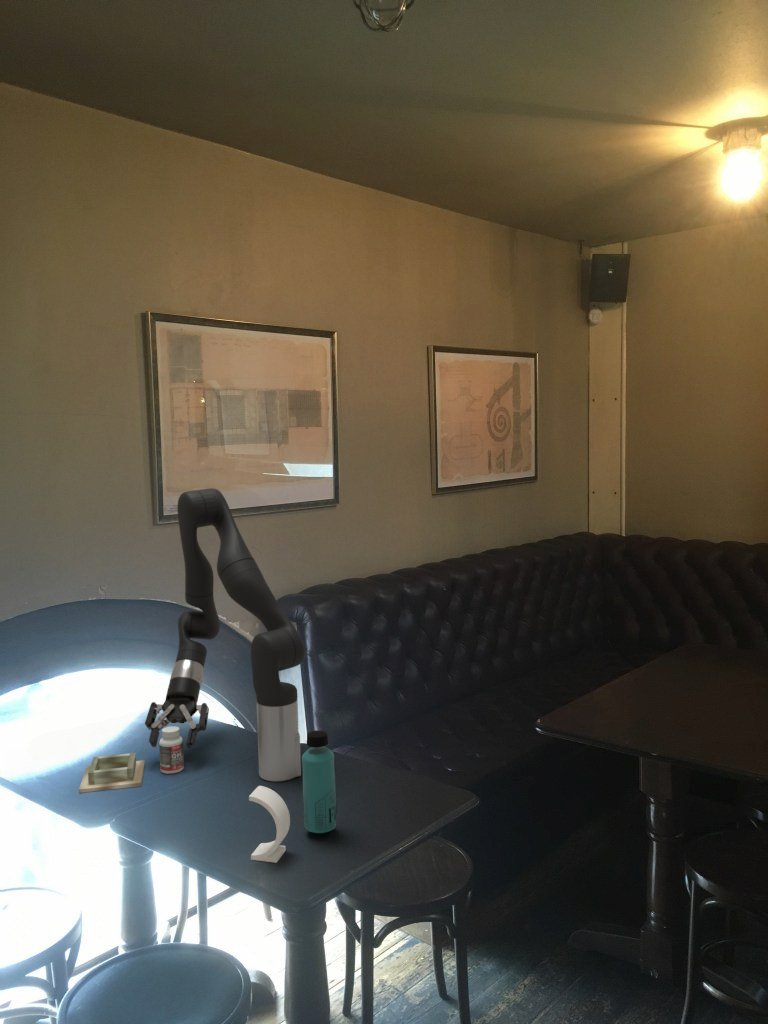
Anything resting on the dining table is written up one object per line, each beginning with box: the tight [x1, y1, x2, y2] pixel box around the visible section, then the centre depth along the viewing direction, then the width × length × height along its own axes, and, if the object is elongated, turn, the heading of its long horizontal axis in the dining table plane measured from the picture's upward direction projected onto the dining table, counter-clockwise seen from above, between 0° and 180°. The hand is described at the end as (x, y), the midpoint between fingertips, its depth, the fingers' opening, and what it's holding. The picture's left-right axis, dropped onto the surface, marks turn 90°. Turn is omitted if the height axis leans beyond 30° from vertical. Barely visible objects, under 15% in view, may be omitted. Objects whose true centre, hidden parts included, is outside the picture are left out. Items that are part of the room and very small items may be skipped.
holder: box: [78, 752, 146, 794], centre depth 184 cm, size 13×13×4 cm
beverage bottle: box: [301, 730, 338, 834], centre depth 156 cm, size 6×7×20 cm
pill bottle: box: [158, 725, 185, 775], centre depth 188 cm, size 5×5×10 cm
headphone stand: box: [248, 785, 291, 864], centre depth 148 cm, size 5×6×12 cm
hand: (170, 746), depth 188 cm, fingers open, 8 cm apart
